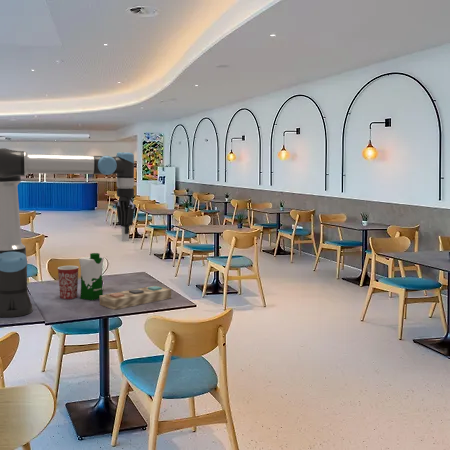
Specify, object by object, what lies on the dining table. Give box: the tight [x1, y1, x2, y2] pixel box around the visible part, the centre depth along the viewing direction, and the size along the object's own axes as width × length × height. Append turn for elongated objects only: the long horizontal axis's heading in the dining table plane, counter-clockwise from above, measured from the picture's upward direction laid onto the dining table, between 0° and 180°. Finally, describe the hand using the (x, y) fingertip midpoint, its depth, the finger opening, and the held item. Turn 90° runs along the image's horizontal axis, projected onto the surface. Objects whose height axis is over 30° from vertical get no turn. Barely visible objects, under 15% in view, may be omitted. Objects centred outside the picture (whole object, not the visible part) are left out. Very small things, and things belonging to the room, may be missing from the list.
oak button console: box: [99, 285, 172, 311], centre depth 240 cm, size 30×11×4 cm, turn 135°
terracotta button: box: [109, 292, 124, 298], centre depth 233 cm, size 4×4×3 cm
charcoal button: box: [129, 288, 144, 294], centre depth 240 cm, size 4×4×3 cm
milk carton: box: [78, 252, 105, 301], centre depth 244 cm, size 9×9×20 cm
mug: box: [57, 265, 80, 300], centre depth 247 cm, size 13×9×14 cm
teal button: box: [147, 285, 163, 291], centre depth 247 cm, size 4×4×3 cm
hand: (125, 240), depth 246 cm, fingers closed
